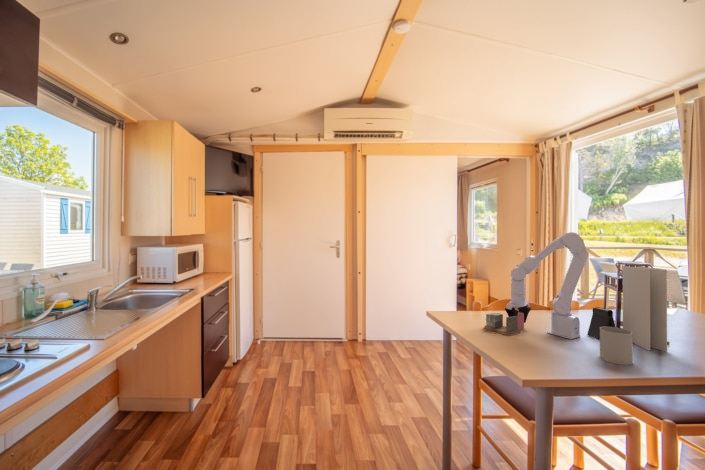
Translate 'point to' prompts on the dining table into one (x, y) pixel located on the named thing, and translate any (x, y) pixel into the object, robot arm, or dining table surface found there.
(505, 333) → the grey slotted block
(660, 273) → the brochure
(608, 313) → the door stopper
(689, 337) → the dining table surface
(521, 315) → the burgundy book
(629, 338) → the cup
